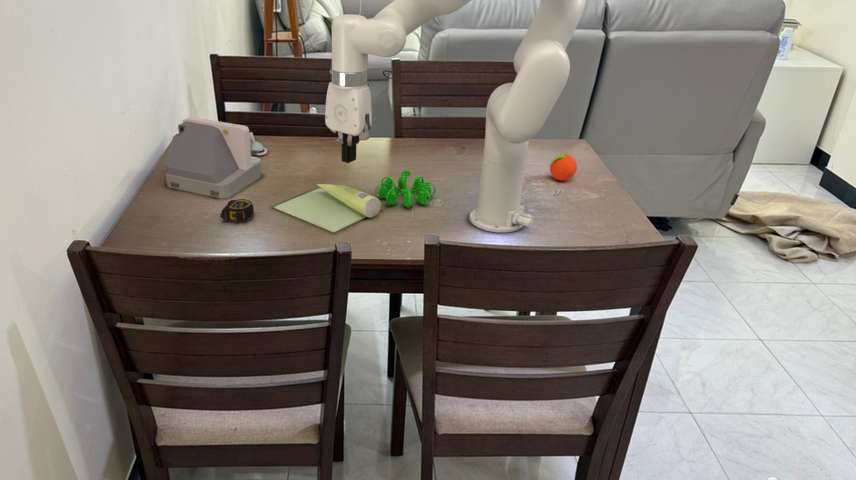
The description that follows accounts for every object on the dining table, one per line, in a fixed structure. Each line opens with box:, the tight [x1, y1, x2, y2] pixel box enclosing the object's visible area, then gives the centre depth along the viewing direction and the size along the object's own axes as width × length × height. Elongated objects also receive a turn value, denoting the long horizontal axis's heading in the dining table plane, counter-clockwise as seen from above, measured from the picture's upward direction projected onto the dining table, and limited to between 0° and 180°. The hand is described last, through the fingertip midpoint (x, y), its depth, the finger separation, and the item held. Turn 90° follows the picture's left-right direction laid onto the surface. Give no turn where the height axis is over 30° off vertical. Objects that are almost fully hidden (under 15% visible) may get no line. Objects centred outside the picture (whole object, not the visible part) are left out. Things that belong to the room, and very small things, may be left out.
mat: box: [273, 187, 367, 233], centre depth 162 cm, size 20×16×1 cm
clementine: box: [549, 153, 578, 181], centre depth 178 cm, size 8×7×7 cm
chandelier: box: [374, 170, 436, 209], centre depth 167 cm, size 15×15×7 cm
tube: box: [316, 183, 382, 218], centre depth 163 cm, size 6×5×20 cm
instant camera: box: [165, 116, 262, 199], centre depth 173 cm, size 21×21×15 cm
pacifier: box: [249, 131, 268, 157], centre depth 194 cm, size 7×6×6 cm
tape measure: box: [219, 198, 255, 222], centre depth 157 cm, size 7×7×4 cm
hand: (348, 160), depth 151 cm, fingers closed
